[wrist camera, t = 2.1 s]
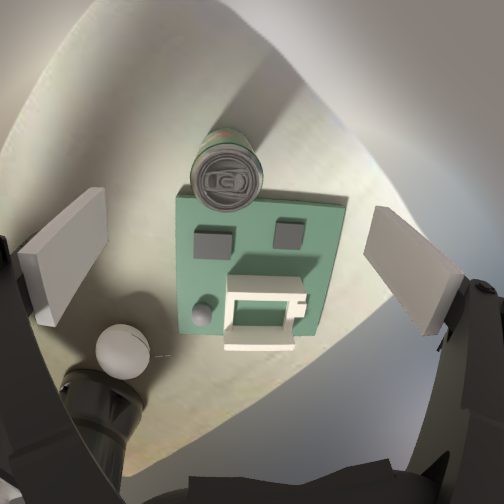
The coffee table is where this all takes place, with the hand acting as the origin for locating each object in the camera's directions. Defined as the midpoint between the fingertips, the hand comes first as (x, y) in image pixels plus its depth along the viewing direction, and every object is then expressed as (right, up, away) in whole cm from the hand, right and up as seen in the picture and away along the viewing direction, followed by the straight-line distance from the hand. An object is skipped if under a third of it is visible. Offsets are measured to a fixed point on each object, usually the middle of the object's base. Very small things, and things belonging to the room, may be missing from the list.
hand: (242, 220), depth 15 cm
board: (+1, -4, +23) cm, 24 cm away
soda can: (-2, +9, +17) cm, 19 cm away
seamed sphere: (-15, -13, +27) cm, 33 cm away
